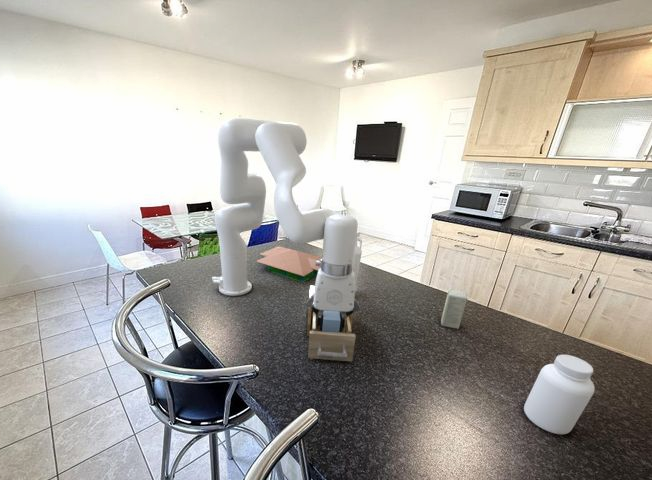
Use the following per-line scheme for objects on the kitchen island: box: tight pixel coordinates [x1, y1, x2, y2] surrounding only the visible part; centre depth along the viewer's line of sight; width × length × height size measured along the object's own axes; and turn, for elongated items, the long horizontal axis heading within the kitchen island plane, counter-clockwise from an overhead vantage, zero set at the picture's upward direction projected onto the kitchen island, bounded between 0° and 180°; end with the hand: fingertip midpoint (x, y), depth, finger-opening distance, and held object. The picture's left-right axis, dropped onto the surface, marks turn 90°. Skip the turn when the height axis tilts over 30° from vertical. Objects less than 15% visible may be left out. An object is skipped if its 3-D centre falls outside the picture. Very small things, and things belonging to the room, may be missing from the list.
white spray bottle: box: [352, 230, 363, 292], centre depth 105 cm, size 7×12×25 cm, turn 131°
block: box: [322, 311, 341, 333], centre depth 79 cm, size 4×4×4 cm
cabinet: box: [306, 285, 355, 337], centre depth 91 cm, size 15×13×10 cm
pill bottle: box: [523, 354, 595, 435], centre depth 59 cm, size 8×8×15 cm
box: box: [440, 289, 468, 330], centre depth 92 cm, size 5×4×11 cm
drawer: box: [307, 312, 357, 362], centre depth 79 cm, size 18×11×8 cm, turn 174°
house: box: [255, 245, 322, 283], centre depth 133 cm, size 23×33×8 cm
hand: (330, 327), depth 80 cm, fingers closed on block, 4 cm apart
